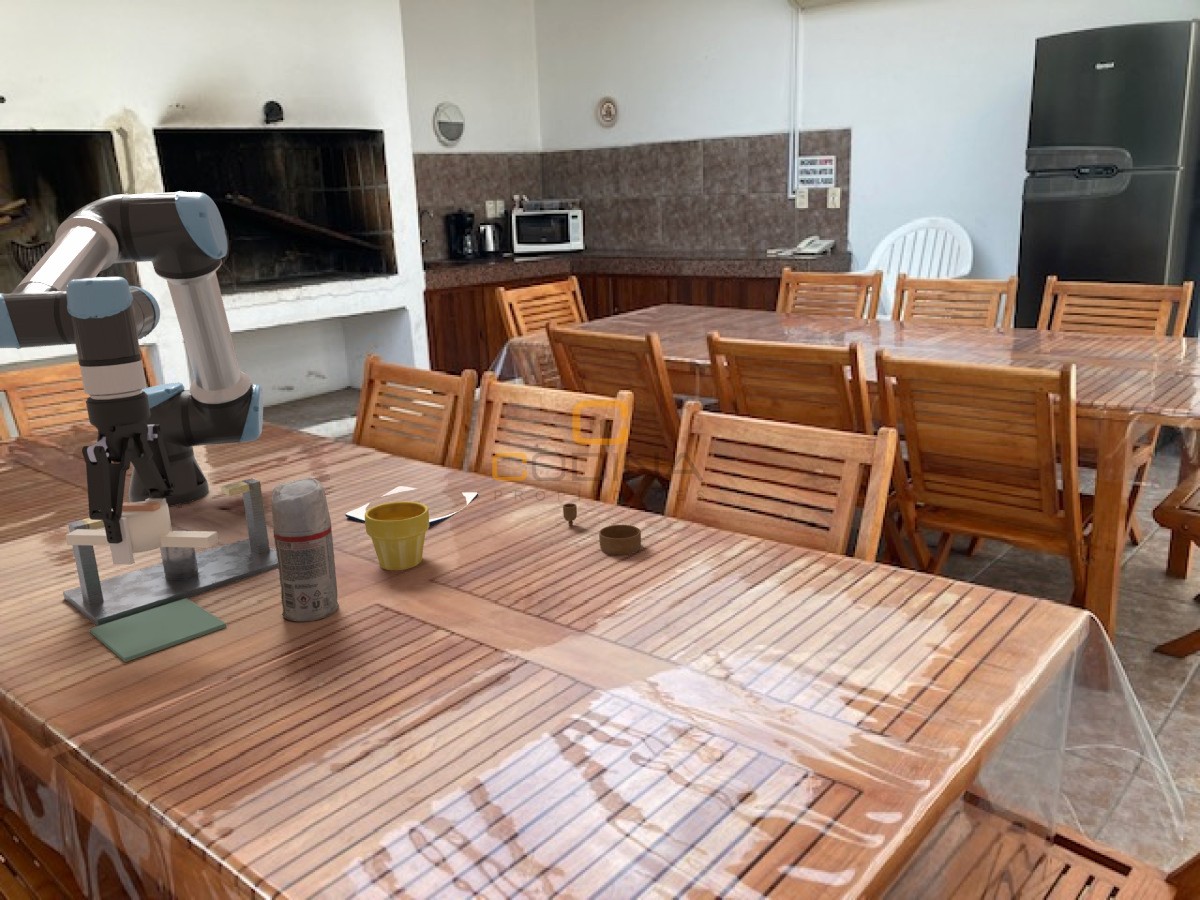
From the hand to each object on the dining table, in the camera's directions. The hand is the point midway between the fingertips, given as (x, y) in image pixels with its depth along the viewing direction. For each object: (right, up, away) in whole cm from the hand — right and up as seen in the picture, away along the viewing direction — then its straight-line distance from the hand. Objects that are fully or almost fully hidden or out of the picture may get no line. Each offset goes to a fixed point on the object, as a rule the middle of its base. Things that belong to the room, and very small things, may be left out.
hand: (143, 552), depth 132 cm
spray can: (+22, -10, +7) cm, 25 cm away
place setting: (+67, -3, +29) cm, 73 cm away
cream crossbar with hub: (0, +1, 0) cm, 1 cm away
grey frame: (-4, -7, +21) cm, 23 cm away
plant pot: (+31, -5, +24) cm, 40 cm away
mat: (0, -12, +3) cm, 12 cm away
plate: (+28, +1, +50) cm, 57 cm away
